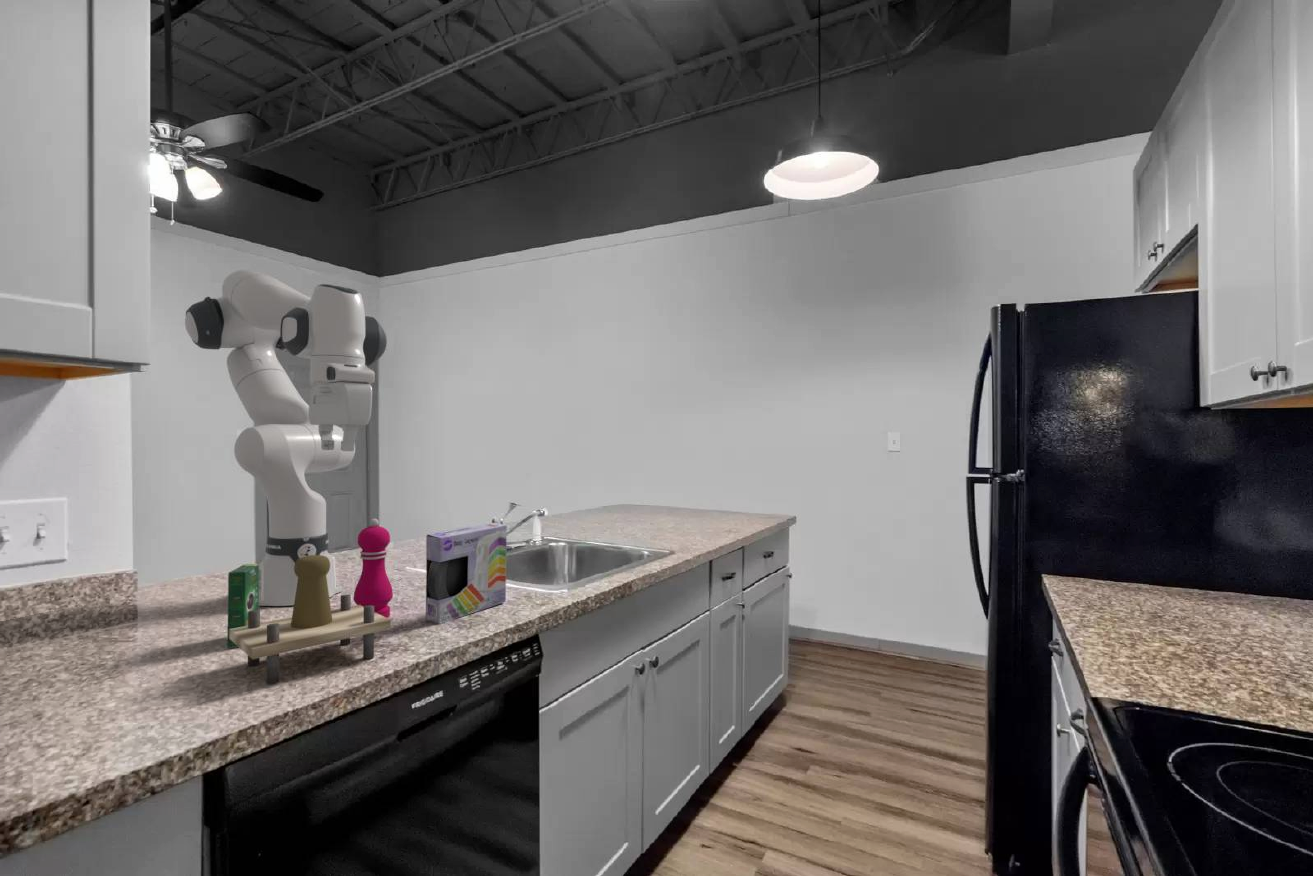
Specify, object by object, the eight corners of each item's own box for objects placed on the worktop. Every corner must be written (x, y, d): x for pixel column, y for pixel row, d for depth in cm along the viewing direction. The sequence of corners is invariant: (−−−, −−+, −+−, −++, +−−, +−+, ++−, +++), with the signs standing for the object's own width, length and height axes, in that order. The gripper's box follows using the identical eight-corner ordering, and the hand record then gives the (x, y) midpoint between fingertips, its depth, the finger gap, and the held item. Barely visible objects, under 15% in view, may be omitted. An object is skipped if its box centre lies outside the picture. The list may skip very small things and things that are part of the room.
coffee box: (241, 634, 114) (242, 563, 114) (259, 632, 115) (260, 562, 115) (225, 648, 106) (226, 572, 106) (244, 647, 107) (245, 571, 107)
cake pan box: (435, 626, 120) (436, 535, 120) (419, 622, 123) (420, 533, 123) (508, 604, 136) (509, 523, 136) (491, 600, 139) (492, 522, 139)
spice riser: (229, 666, 98) (229, 613, 98) (359, 637, 113) (359, 591, 113) (252, 690, 89) (252, 631, 89) (390, 655, 104) (390, 605, 104)
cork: (302, 617, 105) (303, 552, 105) (339, 617, 105) (339, 552, 105) (282, 628, 99) (283, 559, 99) (321, 628, 99) (321, 559, 99)
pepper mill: (377, 623, 121) (378, 521, 121) (345, 621, 123) (346, 520, 122) (399, 613, 128) (400, 517, 128) (369, 611, 130) (370, 515, 130)
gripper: (299, 376, 117) (298, 449, 117) (341, 369, 103) (340, 452, 103) (335, 378, 122) (334, 449, 122) (379, 372, 108) (378, 451, 108)
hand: (337, 450), depth 112 cm, fingers open, 8 cm apart
